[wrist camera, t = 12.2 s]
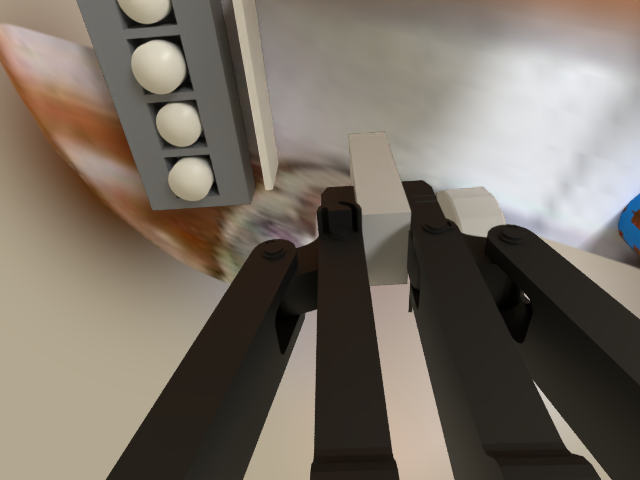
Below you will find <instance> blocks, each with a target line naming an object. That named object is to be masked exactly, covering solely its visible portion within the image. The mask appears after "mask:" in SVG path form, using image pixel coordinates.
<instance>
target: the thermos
mask: <svg viewBox="0 0 640 480" xmlns="http://www.w3.org/2000/svg"><path fill="white" fill-rule="evenodd" d="M618 228H619V235H620V236H621V237H622V238H623V239H624V241H625V242H626V243H627V244H628V245H629V246H630V247H631V248H632V249H633V251H634V252H635V253H636V254H637V255H638V256H639V257H640V194H639V195H638V196H636V197H635V198H634V199H633V200H632V201H630V203H629V204H628V205H627V207H626V208H625V209H624V211H623V212H622V214H621V217H620V220H619V223H618Z"/></svg>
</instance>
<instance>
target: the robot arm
mask: <svg viewBox="0 0 640 480" xmlns="http://www.w3.org/2000/svg"><path fill="white" fill-rule="evenodd" d="M349 153H350V178H351V186H342V187H327V188H326V189H325V191H324V192H323V193H322V194H321V206H319V207H318V210H317V221H318V231H319V237H318V238H317V239H316V240H315V241H314V242H312V243H310V244H308V245H305V246H302V247H298V248H296V247H295V245H294V244H293V243H291V242H290V241H288V240H283V239H272V240H268V241H265V242H263V243H261V244H259V245H257V246H256V247H255V248H254V249H253V251H252V252H251V254H250V255H249V257H248V258H247V260H246V262H245V263H244V265H243V266H242V268H241V269H240V271H239V273H238V274H237V276H236V277H235V279H234V280H233V282H232V283H231V285H230V287H229V288H228V290H227V291H226V293H225V294H224V296H223V298H222V299H221V301H220V302H219V304H218V305H217V307H216V308H215V310H214V312H213V313H212V315H211V316H210V318H209V319H208V321H207V322H206V324H205V326H204V327H203V329H202V330H201V332H200V333H199V335H198V337H197V338H196V340H195V341H194V343H193V345H192V346H191V347H190V349H189V351H188V352H187V354H186V356H185V357H184V358H183V360H182V362H181V363H180V365H179V366H178V368H177V369H176V371H175V372H174V374H173V376H172V377H171V379H170V380H169V382H168V383H167V385H166V387H165V388H164V390H163V391H162V393H161V394H160V396H159V397H158V399H157V401H156V402H155V404H154V405H153V407H152V408H151V410H150V412H149V413H148V415H147V416H146V418H145V419H144V421H143V422H142V424H141V426H140V427H139V429H138V430H137V432H136V433H135V435H134V436H133V438H132V440H131V441H130V443H129V444H128V446H127V448H126V449H125V451H124V452H123V454H122V455H121V457H120V458H119V460H118V461H117V463H116V465H115V466H114V468H113V469H112V471H111V472H110V474H109V476H108V477H107V479H106V480H243V478H244V475H245V472H246V470H247V467H248V465H249V462H250V460H251V457H252V455H253V452H254V449H255V447H256V444H257V441H258V439H259V436H260V434H261V431H262V429H263V426H264V423H265V421H266V418H267V416H268V412H269V410H270V407H271V405H272V402H273V400H274V397H275V395H276V392H277V389H278V387H279V384H280V382H281V379H282V376H283V374H284V371H285V369H286V366H287V363H288V361H289V358H290V356H291V353H292V350H293V348H294V345H295V343H296V340H297V337H298V335H299V332H300V330H301V327H302V324H303V322H304V319H305V313H306V312H309V311H312V310H316V309H317V346H316V391H315V437H314V438H315V439H314V440H315V441H314V460H313V463H312V464H311V472H310V480H399V474H398V469H397V464H396V461H395V460H394V458H393V453H392V447H391V440H390V432H389V424H388V417H387V410H386V403H385V395H384V388H383V382H382V381H383V380H382V374H381V366H380V358H379V352H378V344H377V337H376V329H375V322H374V314H373V307H372V300H371V293H370V286H374V285H375V286H376V285H394V284H407V278H408V275H409V278H410V295H409V312H412V307H413V311H414V315H415V318H416V323H417V327H418V331H419V335H420V339H421V344H422V347H423V352H424V356H425V360H426V364H427V368H428V372H429V376H430V381H431V385H432V389H433V393H434V397H435V401H436V405H437V409H438V414H439V417H440V422H441V426H442V430H443V434H444V438H445V442H446V446H447V451H448V454H449V458H450V463H451V467H452V471H453V475H454V479H455V480H601V478H600V477H599V475H598V474H597V472H596V470H595V469H594V467H593V466H592V464H591V463H589V461H587V460H586V459H585V458H584V457H583V456H579V455H576V454H572V453H571V452H570V451H569V450H568V449H567V448H566V447H565V445H564V443H563V442H562V440H561V438H560V436H559V433H558V431H557V429H556V427H555V425H554V423H553V421H552V419H551V417H550V415H549V413H548V411H547V409H546V407H545V404H544V402H543V400H542V398H541V396H540V394H539V392H538V390H537V388H536V386H535V384H534V382H535V383H536V384H537V386H538V387H539V388H540V389H541V391H542V392H543V393H544V395H545V396H546V397H547V398H548V400H549V401H550V402H551V403H552V405H553V406H554V407H555V408H556V410H557V411H558V412H559V413H560V415H561V416H562V417H563V419H564V420H565V421H566V422H567V423H568V425H569V426H570V427H571V428H572V430H573V431H574V433H576V435H577V436H578V438H579V439H580V440H581V441H582V443H583V444H584V445H585V446H586V448H587V449H588V450H589V451H590V453H591V454H592V455H593V457H594V458H595V459H596V460H597V462H598V463H599V464H600V465H601V467H602V468H603V469H604V471H605V472H606V473H607V474H608V476H609V477H610V478H611V479H612V480H640V319H639V318H638V317H636V316H635V315H634V314H633V313H631V312H630V311H629V310H628V309H626V308H625V307H624V306H623V305H622V304H620V303H619V302H618V301H617V300H615V299H614V298H613V297H611V296H610V295H609V294H608V293H607V292H605V291H604V290H603V289H602V288H600V287H599V286H598V285H597V284H596V283H594V282H593V281H592V280H591V279H589V278H588V277H587V276H586V275H585V274H583V273H582V272H581V271H580V270H578V269H577V268H576V267H575V266H574V265H572V264H571V263H570V262H569V261H567V260H566V259H565V258H564V257H562V256H561V255H560V254H559V253H558V252H556V251H555V250H554V249H552V248H551V247H550V246H549V245H548V244H547V243H545V242H544V241H543V240H542V239H540V238H539V237H538V236H537V235H535V234H534V233H533V232H531V231H530V230H528V229H526V228H523V227H520V226H517V225H509V224H507V225H498V226H495V227H492V228H491V229H490V230H489V231H488V233H487V237H481V236H473V235H468V234H464V233H461V231H460V229H459V227H458V226H457V225H456V223H455V222H453V221H451V220H449V219H447V218H445V215H444V213H443V211H442V209H441V207H440V205H439V202H438V201H437V198H436V196H435V194H434V191H433V189H432V187H431V186H430V185H428V184H427V183H426V182H424V181H423V180H419V181H404V182H401V180H400V177H399V174H398V171H397V168H396V165H395V162H394V159H393V156H392V153H391V150H390V147H389V144H388V141H387V138H386V135H385V132H372V133H358V134H349ZM524 293H525V294H526V295H527V296H528V298H529V299H530V300H528V299H527V298H526V297H525V296H524ZM532 379H533V380H532ZM533 381H534V382H533Z"/></svg>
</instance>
